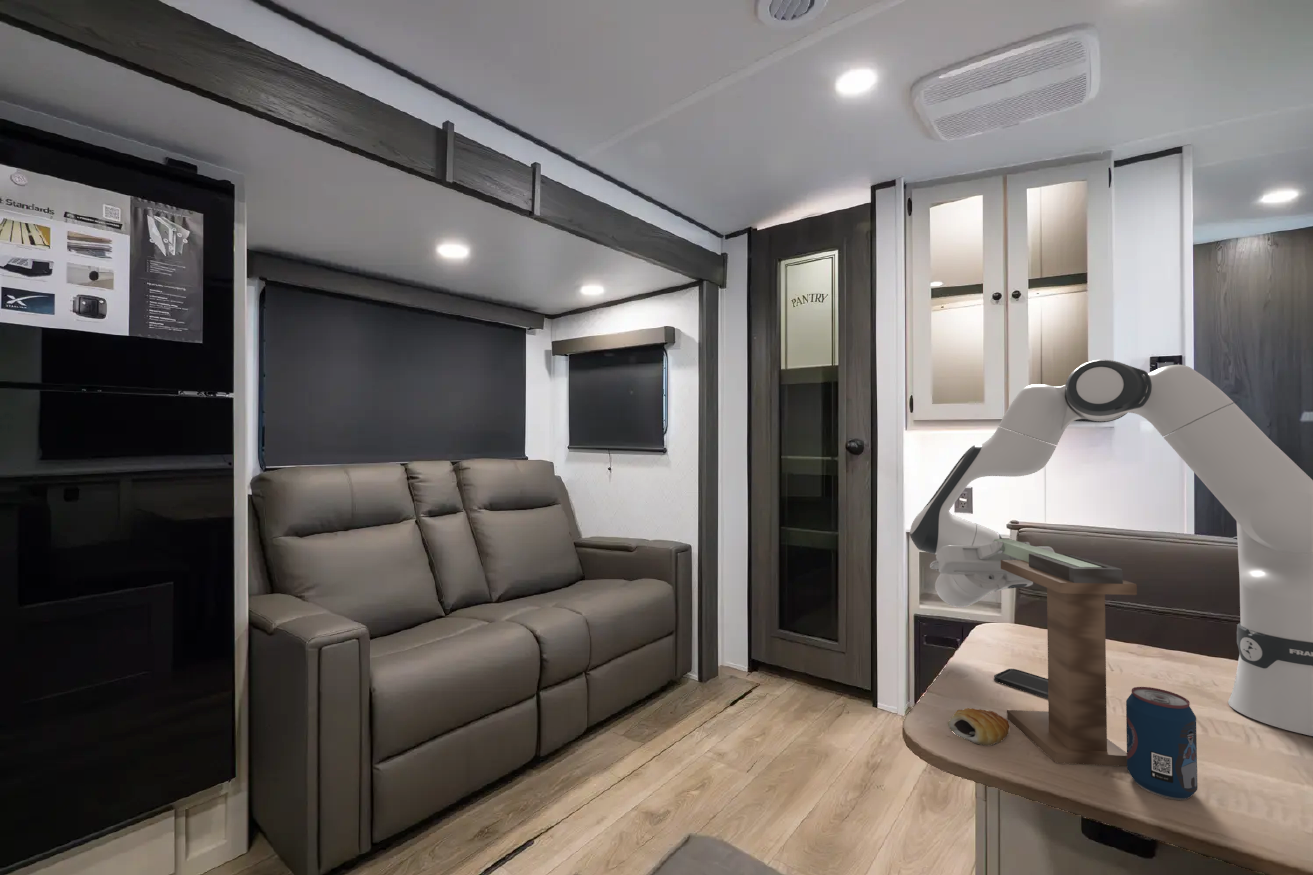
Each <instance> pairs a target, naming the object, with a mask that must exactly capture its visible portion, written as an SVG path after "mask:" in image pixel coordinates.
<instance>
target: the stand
mask: <svg viewBox="0 0 1313 875" xmlns="http://www.w3.org/2000/svg"><path fill="white" fill-rule="evenodd" d="M1062 555H1064V556H1068V557H1071V558H1074V559H1077V560H1081V561H1084V562H1087V563H1091V564H1094V565H1097V566H1100V567H1102V568H1094V567H1076V566H1073V565H1070V564H1067V563H1064V562H1060V561H1057V560H1054V559H1051V558H1048V557H1045V556H1042V555H1039V554H1029V562H1026V561H1023V560H1001V569H1003V570H1005V571H1008V572H1010V573H1012V574H1015V575H1017V576H1020V577H1022V578H1025V579H1027V580H1029V581H1032V582H1033V584H1034V583H1035V584H1037V585H1039V586H1042V587H1044V588H1046V607H1047V608H1046V612H1047V614H1046V616H1047V618H1046V619H1047V620H1046V622H1047V679H1048V699H1047V700H1048V701H1047V702H1048V706H1047V707H1048V710H1047V711H1044V710H1024V709H1023V710H1022V709H1021V710H1019V709H1016V710H1015V709H1006V720H1007V721H1008V722H1010V723H1011V724H1012V725H1013V726H1014V727H1016V728H1017V730H1019V731H1020V732H1021V733H1022V734H1023V735H1024V736H1026V737H1027V739H1029V741H1031V742H1032V743H1033V744H1034V745H1035V746H1036V747H1037V748H1039V750H1041V751H1042V752H1043V754H1045V755H1046V756H1047V757H1049V759H1051V760H1052V761H1053V762H1054V763H1055V764H1062V765H1063V764H1064V765H1085V766H1086V765H1087V766H1090V765H1091V766H1105V767H1108V766H1109V767H1125V768H1127V751H1124V749H1122V748H1121V747H1119V746H1118V745H1117V744H1115V743H1114V742H1112V741H1111V740H1110V739H1108V731H1107V730H1108V725H1107V724H1108V722H1107V720H1108V719H1107V716H1108V715H1107V714H1108V713H1107V712H1108V711H1107V710H1108V709H1107V654H1106V653H1107V652H1106V650H1107V649H1106V644H1107V643H1106V640H1107V639H1106V595H1124V596H1137V595H1138V588H1137V587H1138V586H1137V585H1138V584H1137V583H1134V582H1132V581H1128V580H1125V579H1123V577H1124V576H1123V575H1124V574H1123V569H1122V568H1119V567H1115V566H1112V565H1108V564H1106V563H1101V562H1099V561H1096V560H1092V559H1089V558H1084V557H1082V556H1078V555H1075V554H1072V553H1071V554H1070V553H1068V554H1067V553H1066V554H1064V553H1063V554H1062Z"/></svg>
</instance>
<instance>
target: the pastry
mask: <svg viewBox="0 0 1313 875" xmlns="http://www.w3.org/2000/svg"><path fill="white" fill-rule="evenodd" d="M1009 722H1010V721H1009V720H1008V719H1007V718H1005V717H1003V716H1002V715H1000V714H998V713H997V712H995V711H992V710H985V709H981V708H979V709H978V708H971V707H965V708H964V709H958V710H956V711H955V712H954V713H953V715H952V716H951V717H950V719H949V720H948V721H947V727H948V729H949V730H950V732H951V731H953V732H954V733H955V734H956V735H955V734H954V733H953V732H952V733H953V734H954V735H955V736H957V735H958V736H957V737H959V736H960V737H959V738H961V737H962V738H961V739H964V738H965V739H964V740H967V741H969V742H971V743H972V744H973V743H974V744H975V745H980V746H983V747H986V746H994V744H1000V743H1001V742H1002V741H1003V740H1005V738H1006V737H1007V736H1009V733H1010V727H1011V726H1010V723H1009Z"/></svg>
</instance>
